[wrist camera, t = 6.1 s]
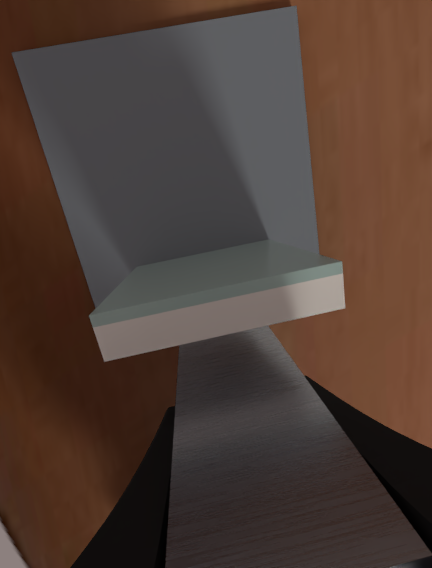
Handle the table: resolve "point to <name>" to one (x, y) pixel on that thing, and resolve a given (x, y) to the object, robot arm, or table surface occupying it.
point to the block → (271, 470)
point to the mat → (176, 140)
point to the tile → (215, 296)
